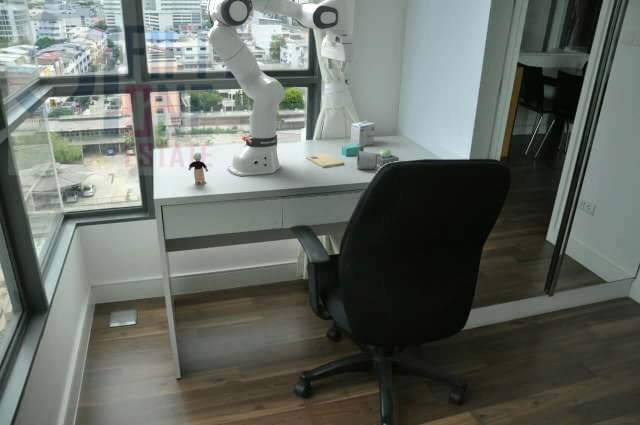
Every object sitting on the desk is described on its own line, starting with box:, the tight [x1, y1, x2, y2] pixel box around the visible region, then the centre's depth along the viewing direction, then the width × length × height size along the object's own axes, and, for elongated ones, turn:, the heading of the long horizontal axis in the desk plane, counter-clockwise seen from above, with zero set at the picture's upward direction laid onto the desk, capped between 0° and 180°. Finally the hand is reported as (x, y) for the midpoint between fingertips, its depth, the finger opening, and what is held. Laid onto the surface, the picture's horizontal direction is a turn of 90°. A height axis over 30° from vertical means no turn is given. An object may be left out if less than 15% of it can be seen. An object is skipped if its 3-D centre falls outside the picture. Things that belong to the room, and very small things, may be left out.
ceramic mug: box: [356, 151, 378, 170], centre depth 221 cm, size 11×8×8 cm
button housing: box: [376, 152, 400, 167], centre depth 229 cm, size 9×9×3 cm
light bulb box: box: [350, 120, 376, 147], centre depth 254 cm, size 11×7×11 cm, turn 130°
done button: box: [379, 148, 392, 159], centre depth 228 cm, size 5×5×4 cm
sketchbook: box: [305, 153, 345, 169], centre depth 228 cm, size 11×15×1 cm
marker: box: [340, 144, 365, 157], centre depth 239 cm, size 10×4×4 cm, turn 121°
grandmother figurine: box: [187, 151, 209, 186], centre depth 196 cm, size 8×4×13 cm, turn 99°
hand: (335, 70), depth 219 cm, fingers open, 8 cm apart
